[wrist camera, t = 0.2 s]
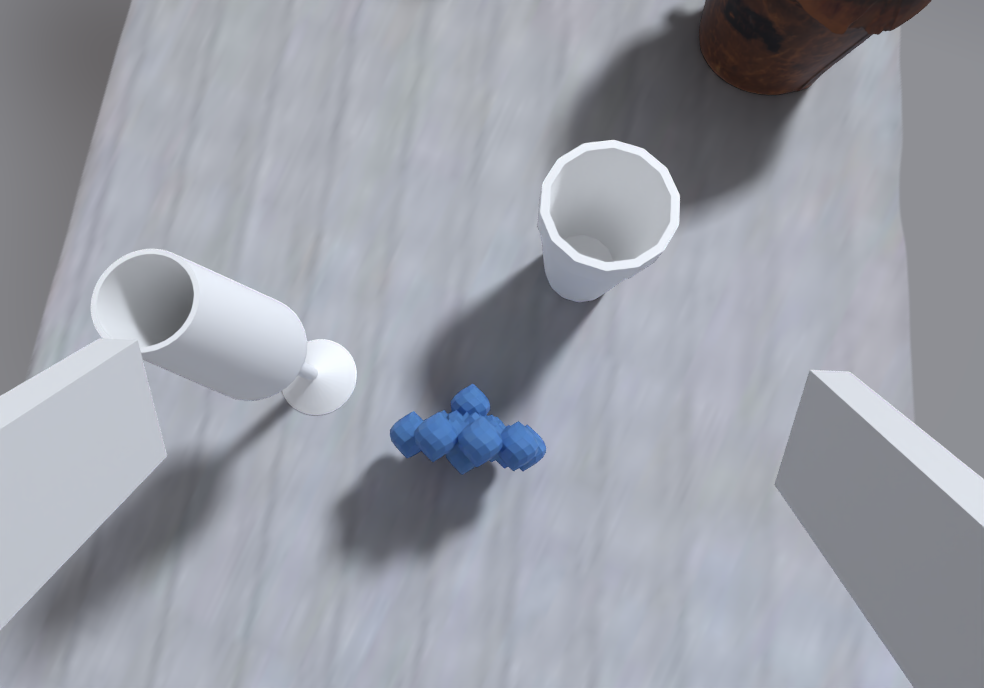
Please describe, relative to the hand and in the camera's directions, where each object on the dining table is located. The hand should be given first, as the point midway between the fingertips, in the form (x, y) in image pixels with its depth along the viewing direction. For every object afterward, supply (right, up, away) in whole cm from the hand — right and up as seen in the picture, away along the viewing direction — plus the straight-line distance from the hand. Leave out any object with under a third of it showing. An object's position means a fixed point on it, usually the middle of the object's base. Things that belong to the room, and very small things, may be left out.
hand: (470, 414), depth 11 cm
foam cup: (+8, +8, +38) cm, 40 cm away
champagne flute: (-15, -1, +36) cm, 39 cm away
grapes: (-1, -6, +35) cm, 36 cm away
